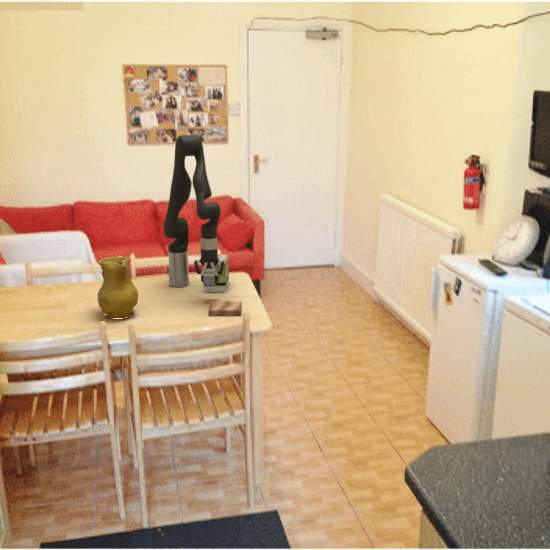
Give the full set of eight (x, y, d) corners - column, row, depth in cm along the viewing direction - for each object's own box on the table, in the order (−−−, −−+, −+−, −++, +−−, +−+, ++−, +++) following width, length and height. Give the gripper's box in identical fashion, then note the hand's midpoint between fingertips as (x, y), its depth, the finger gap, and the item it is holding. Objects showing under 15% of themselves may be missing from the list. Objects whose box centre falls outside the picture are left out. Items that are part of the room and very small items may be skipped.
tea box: (226, 293, 321) (226, 263, 316) (205, 292, 321) (204, 263, 317) (229, 282, 335) (228, 254, 331) (209, 282, 336) (208, 253, 331)
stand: (208, 316, 293) (208, 310, 292) (210, 306, 304) (210, 300, 304) (240, 315, 293) (240, 310, 293) (241, 305, 305) (241, 300, 304)
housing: (203, 288, 304) (203, 273, 302) (204, 282, 312) (204, 268, 309) (214, 288, 304) (214, 274, 302) (215, 282, 312) (215, 268, 309)
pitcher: (96, 322, 285) (93, 265, 278) (100, 308, 303) (98, 254, 296) (138, 321, 288) (136, 264, 281) (139, 307, 306) (138, 253, 299)
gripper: (225, 244, 305) (225, 279, 311) (193, 244, 305) (194, 279, 311) (224, 249, 298) (224, 285, 304) (192, 249, 298) (192, 285, 304)
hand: (209, 282), depth 307 cm, fingers closed on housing, 5 cm apart
